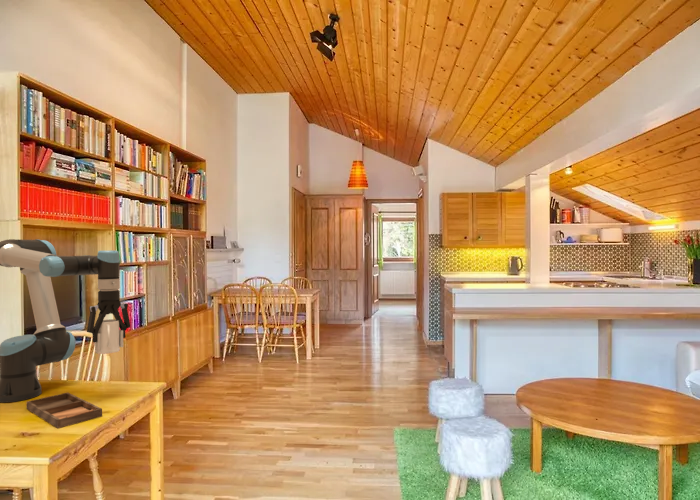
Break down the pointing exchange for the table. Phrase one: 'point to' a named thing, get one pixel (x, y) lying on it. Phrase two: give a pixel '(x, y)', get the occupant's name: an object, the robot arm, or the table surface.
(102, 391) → the table surface
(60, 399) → the rack
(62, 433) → the table surface
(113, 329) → the mug
